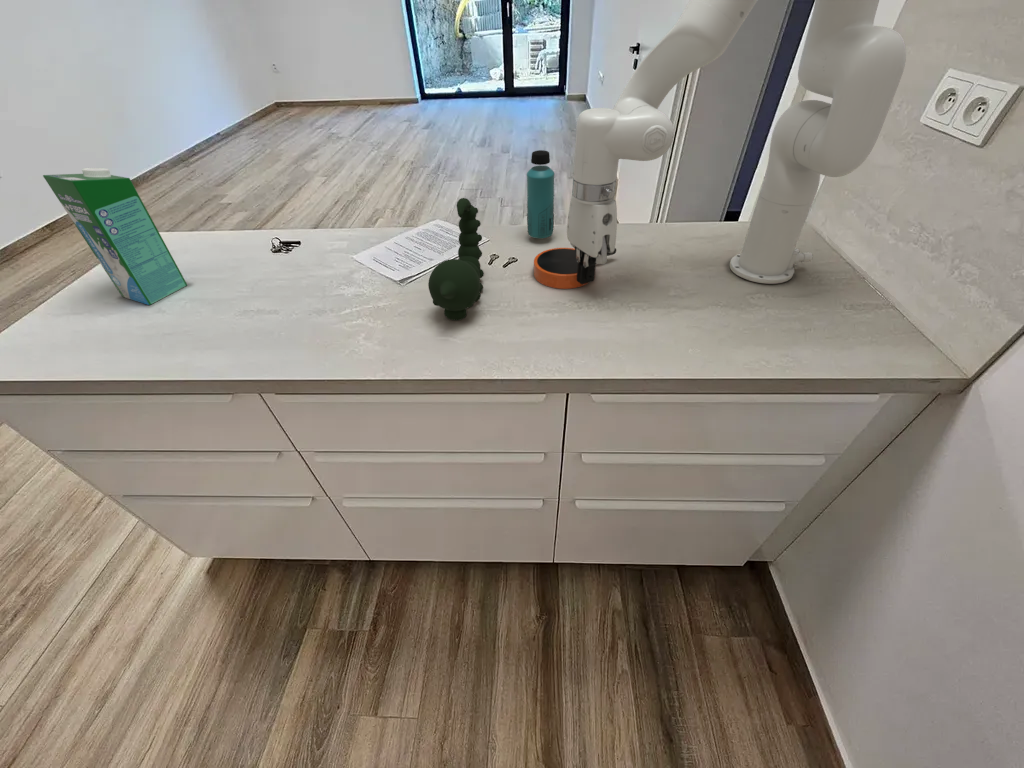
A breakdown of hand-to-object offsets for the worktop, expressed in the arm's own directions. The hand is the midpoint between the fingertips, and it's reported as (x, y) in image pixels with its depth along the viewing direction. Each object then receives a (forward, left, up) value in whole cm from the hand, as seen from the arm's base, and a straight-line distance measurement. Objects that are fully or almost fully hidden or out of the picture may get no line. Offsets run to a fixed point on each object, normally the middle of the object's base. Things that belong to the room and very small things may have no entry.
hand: (585, 281), depth 96 cm
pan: (0, -9, -2) cm, 9 cm away
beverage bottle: (+5, -26, -2) cm, 26 cm away
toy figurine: (+25, 0, -2) cm, 25 cm away
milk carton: (+91, -15, -2) cm, 92 cm away
